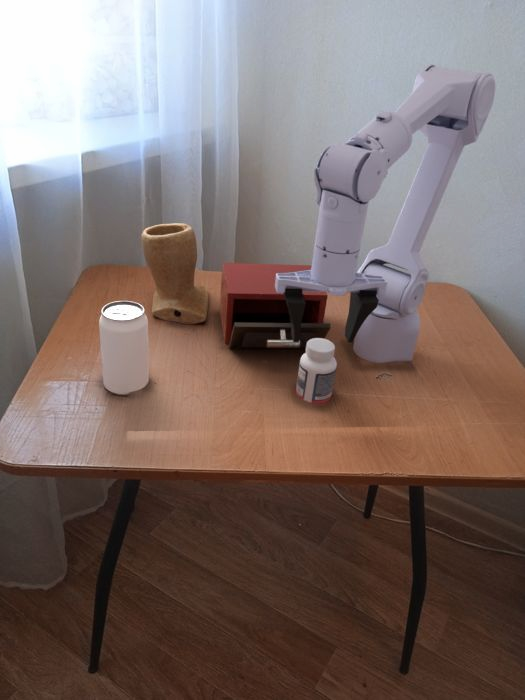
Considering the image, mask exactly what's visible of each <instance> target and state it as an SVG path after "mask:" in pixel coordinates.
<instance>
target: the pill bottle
mask: <svg viewBox="0 0 525 700" xmlns="http://www.w3.org/2000/svg"><path fill="white" fill-rule="evenodd" d="M335 350H336V345H335V344H334V343H333V341H332V340H331V341H330V340H329V339H327V338H324V339H323V338H313V339H310V340H309V341H308V342H307V345H306V349H305V352H304V353H303V354H302V355H301V356H300V358H299V359H300V360H299V363H298V364H299V366H298V372H297V379H296V386H295V393H296V395H297V397H299V398H300V399H301V400H303V401H305V402H308V403H311V404H323V403H327V402H328V401H329V400H331V398H332V396H333V390H334V385H335V378H336V373H337V368H338V367H337V365H338V362H337V360H336V358H335Z"/></svg>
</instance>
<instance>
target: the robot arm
mask: <svg viewBox="0 0 525 700" xmlns="http://www.w3.org/2000/svg"><path fill="white" fill-rule="evenodd" d="M411 91H412V92H411V93H410V94H409V96H407V98H405V100H404V101H403V102H402V103H401V104H400V105H399V106H398V107H397V108H396V110H395V111H384V110H381V111H379V112H378V113H377V114H376V115H375V116H374V118H372V120H371V121H369V122H368V123H366V125H364V126H363V127H362V128H361V129H360V130H359V131H357V132H356V133H355V134H353V136H352V137H351V138H349V139H348V140H347V141H346V142H344V143H342V142H336V143H333V144H332V145H329V146H327V147H325V148H324V150H323V151H322V152H321V154H320V156H319V158H318V161H317V164H316V167H315V168H314V169H313V179H314V185H315V187H316V199H315V202H316V204H317V205H318V206H319V210H318V217H317V225H316V232H315V239H314V245H313V246H314V247H313V252H312V262H311V265H312V267H311V270H306V271H299V272H291V273H276V279H275V289H276V292H277V293H283V294H284V297H285V300H286V303H287V306H288V310H289V315H290V321H291V336H292V339H293V342H299V339H300V331H301V321H302V317H303V312H304V309H305V306H306V304H305V301H304V299H303V298H304V295H303V293H302V291H314V292H326V293H329V294H330V295H331V296H335V297H343V296H344V297H345V296H346V295H347V293H349V294H350V295H349V306H348V307H349V308H348V314H347V319H346V323H345V328H344V337H345V339H346V341H347V343H353V345H352V350H353V353H354V354H355V355H356V356H358V357H359V358H360V359H363V360H365V361H367V362H371V363H377V364H386V363H391V362H412V361H413V357H414V353H415V349H416V346H417V341H418V338H419V335H420V329H421V320H420V319H421V318H420V314H419V312H418V308H419V307H420V305H421V303H422V300H423V298H424V295H425V291H426V285H427V282H428V280H429V277H430V272H429V270H428V268H427V267H428V266H426V263H425V262H424V261H423V259H422V257H421V255H420V251H421V249H422V247H423V244H424V242H425V239H426V237H427V235H428V233H429V230H430V228H431V226H432V223H433V221H434V218H435V215H436V213H437V211H438V208H439V206H440V204H441V201H442V199H443V197H444V195H445V193H446V190H447V187H448V186H449V185H448V184H449V182H450V180H451V178H452V175H453V173H454V171H455V168H456V166H457V164H458V162H459V159H460V157H461V155H462V153H463V150H464V148H465V147H466V146H468V145H471V144H474V143H477V141H478V138H479V136H480V134H481V133H482V131H483V129H484V126H485V124H486V121H487V120H488V117H489V114H490V112H491V110H492V107H493V104H494V101H495V94H496V80H495V77H494V75H493V74H492V73H491V72H477V71H469V70H463V69H455V68H448V67H442V66H436V65H435V64H427V65H425V66H424V67H423V68H422V69H421V71H420V72H418V73H417V74H416V77H415V80H414V84H413V86H412V90H411ZM418 131H420V132H421V133H422V135H424V136H425V137H427V141H428V143H427V147H426V149H425V151H424V154H423V156H422V159H421V161H420V164H419V166H418V167H417V171H416V174H415V176H414V178H413V181H412V182H411V183H412V184H411V185H410V188H409V191H408V194H407V196H406V198H405V200H404V202H403V205H402V208H401V211H400V213H399V215H398V218H397V220H396V222H395V226H394V227H393V229H392V232H391V234H390V236H389V239H388V242H387V243H386V244H384V245H382V246H379V247H376V248H373V249H371V250H370V251H368V254H366V255H367V256H366V258H365V260H364V261H363V263H362V265H361V266H360V267H359V268H358V270H357V267H358V261H359V256H360V250H361V246H362V240H363V234H364V229H365V224H366V218H367V214H368V208H369V204H370V203H369V202H370V201H371V200H373V199H374V198H375V197H376V196H377V194H378V192H379V191H380V189H381V187H382V184H383V182H384V180H385V179H386V178H387V175H388V174H389V169H390V168H391V167H392V166H393V165H394V164H395V163H396V162H398V160H399V159H400V158H402V157H403V156H404V155H405V154H406V153H407V151H409V149H410V148H411V146H412V143H413V135H414V134H415V133H417V132H418ZM387 264H388V265H392V266H394V267H398V268H400V269H402V270H405V271H408V272H409V273H407V272H405V271H401V270H399V269H396V268H393V267H390V266H388V265H387Z"/></svg>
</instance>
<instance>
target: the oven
mask: <svg viewBox="0 0 525 700" xmlns="http://www.w3.org/2000/svg"><path fill="white" fill-rule="evenodd" d="M311 267H312V264H280V263H277V264H276V263H275V264H273V263H246V262H245V263H243V262H240V263H239V262H222V263H221V280H220V282H221V283H220V298H219V300H220V302H219V314H220V320H221V328H222V334H223V342H224V345H229V342H230V338H231V334H232V330H233V325H234V322H243V323H291V321H290V315H289V310H288V306H287V303H286V300H285V297H284V294H283V293H277V292H276V289H275V279H276V273H291V272H299V271H306V270H311ZM302 293H303V295H304V298H303V299H304V301H305V304H306V306H305V309H304V312H303V317H302V321H301V323H324V321H325V314H326V308H327V302H328V296H329V295H328V292H314V291H302Z"/></svg>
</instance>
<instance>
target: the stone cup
mask: <svg viewBox="0 0 525 700" xmlns="http://www.w3.org/2000/svg"><path fill="white" fill-rule="evenodd" d="M195 233H196V232H195V231H194V229H193V227H192V226H191V225H189V224H187V223H180V222H176V223H175V222H173V223H162V224H161V223H160V224H155V225H152V226H148V227H146V228H145V229H144V230H143V231H142V232H141V236H140V237H141V238H140V239H141V245H142V253H143V255H144V256H143V257H144V259H145V262H146V263H147V266H148V268H149V271H150V273H151V276H152V278H153V282H154V284H155V287H156V289H155V291H154V292H153V296H152V297H153V298H152V307H151V314H152V316H154V317H157V318H159V319H161V320H163V321H172V322H178V323H182V324H186V325H196V324H200V323H203V322H205V321H206V319H207V316H208V303H209V302H208V301H209V293H208V290H207V287H206V286H205V285H204V284H201V283H195V275H196V273H195V272H196V267H197V260H198V245H197V236H196V234H195Z"/></svg>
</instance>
